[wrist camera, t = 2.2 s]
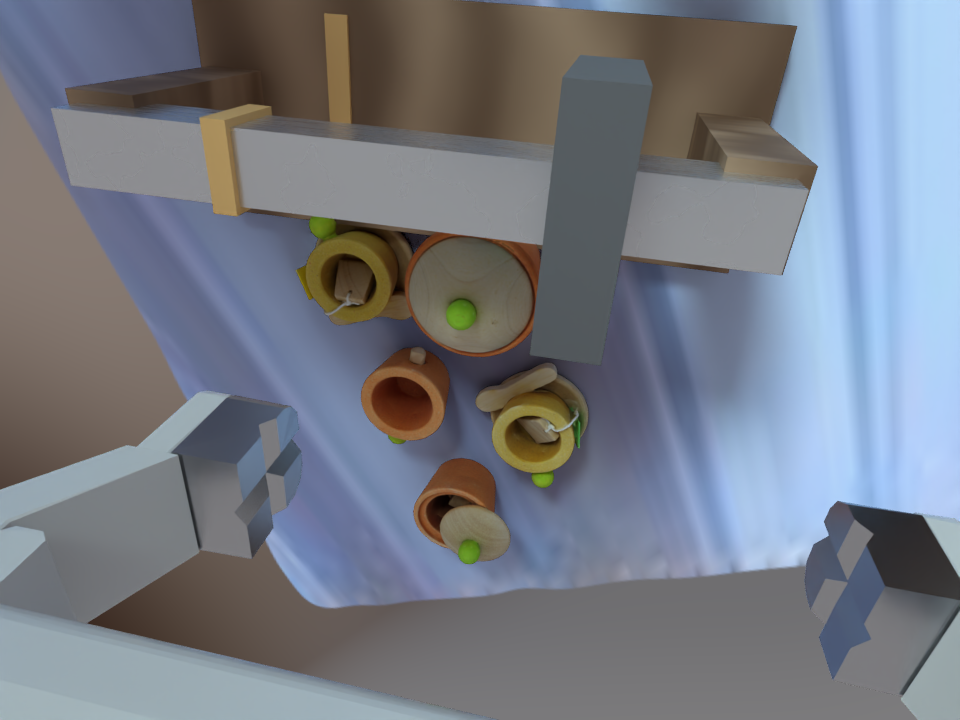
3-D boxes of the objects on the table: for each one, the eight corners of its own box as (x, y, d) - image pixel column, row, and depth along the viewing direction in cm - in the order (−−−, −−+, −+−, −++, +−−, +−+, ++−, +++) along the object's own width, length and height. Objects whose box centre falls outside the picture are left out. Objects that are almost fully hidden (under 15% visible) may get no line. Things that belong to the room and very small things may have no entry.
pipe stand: (234, 202, 40) (72, 285, 28) (205, -19, 34) (-18, -31, 22) (724, 263, 36) (774, 391, 24) (789, 25, 30) (899, 39, 18)
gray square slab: (553, 264, 30) (529, 354, 22) (580, 54, 25) (562, 77, 18) (606, 271, 30) (600, 365, 22) (643, 60, 25) (652, 85, 17)
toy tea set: (291, 213, 40) (205, 268, 32) (523, 140, 35) (492, 182, 27) (433, 521, 51) (397, 622, 43) (627, 498, 46) (627, 607, 38)
